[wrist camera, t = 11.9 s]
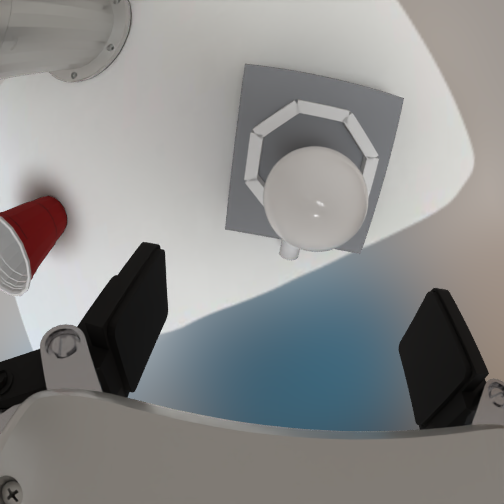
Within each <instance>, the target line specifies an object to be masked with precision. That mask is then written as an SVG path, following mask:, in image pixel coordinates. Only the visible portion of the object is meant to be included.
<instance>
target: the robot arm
mask: <svg viewBox="0 0 504 504" xmlns="http://www.w3.org/2000/svg"><path fill="white" fill-rule="evenodd" d="M130 18H131V11H130V4H129V2H128V0H0V80H1V79H6V78H11V77H17V76H22V75H29V74H35V73H42V72H49V73H50V74H51V75H52V76H54V77H55V78H57V79H59V80H62V81H65V82H77V81H83V80H87V79H89V78H92V77H94V76H96V75H97V74H99V73H100V72H102V71H103V70H104V69H105V68H106V67H107V66H108V65H109V64H110V63H111V62H112V61H113V60H114V59H115V57H116V56H117V55H118V53H119V52H120V50H121V48H122V46H123V45H124V42H125V40H126V37H127V35H128V31H129V27H130ZM113 48H114V49H113ZM167 315H168V299H167V284H166V264H165V251H164V250H162V249H160V245H158V244H153V243H147V242H143V243H141V245H140V246H139V247H138V248H137V250H136V251H135V252H134V254H133V255H132V256H131V258H130V259H129V260H128V262H127V263H126V264H125V266H124V267H123V268H122V270H121V271H120V272H119V274H118V275H115V276H113V277H112V278H111V280H110V281H109V282H108V284H107V285H106V286H105V288H104V289H103V291H102V292H101V293H100V295H99V296H98V297H97V299H96V300H95V302H94V303H93V305H92V306H91V307H90V309H89V310H88V312H87V313H86V315H85V316H84V318H83V319H82V320H81V322H80V323H79V325H78V326H77V327H76V326H73V325H59V326H56V327H54V328H52V329H50V330H49V331H48V332H47V333H46V334H45V335H44V336H43V338H42V340H41V343H40V349H38V350H35V351H32V352H29V353H26V354H23V355H20V356H17V357H14V358H11V359H8V360H5V361H2V362H0V504H504V382H502V381H500V380H498V379H490V380H488V381H487V382H486V381H485V378H486V376H487V375H488V374H489V373H488V370H487V368H486V365H485V363H484V361H483V359H482V356H481V354H480V352H479V350H478V347H477V345H476V343H475V341H474V339H473V337H472V335H471V333H470V331H469V329H468V327H467V325H466V323H465V321H464V319H463V317H462V315H461V313H460V311H459V309H458V307H457V305H456V303H455V301H454V300H453V298H452V296H451V294H450V292H449V291H448V290H445V289H438V288H433V289H432V290H431V291H430V292H428V293H427V294H426V296H425V299H424V301H423V302H422V304H421V306H420V308H419V310H418V311H417V313H416V315H415V317H414V319H413V321H412V322H411V324H410V326H409V328H408V330H407V331H406V333H405V335H404V336H403V338H402V340H401V341H400V344H399V354H400V357H401V361H402V365H403V369H404V372H405V377H406V380H407V385H408V388H409V393H410V398H411V402H412V407H413V411H414V416H415V421H416V423H417V425H419V427H420V430H407V431H377V432H355V431H323V430H308V429H295V428H285V427H275V426H266V425H259V424H251V423H244V422H237V421H231V420H225V419H219V418H214V417H209V416H203V415H199V414H194V413H189V412H184V411H179V410H175V409H170V408H166V407H162V406H158V405H154V404H150V403H146V402H142V401H138V400H134V399H130V398H127V397H128V394H129V392H134V391H135V390H136V388H137V385H138V383H139V381H140V378H141V376H142V373H143V371H144V369H145V366H146V364H147V362H148V359H149V357H150V355H151V352H152V350H153V348H154V346H155V343H156V340H157V339H158V336H159V334H160V332H161V330H162V327H163V325H164V323H165V321H166V318H167Z"/></svg>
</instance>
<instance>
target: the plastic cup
mask: <svg viewBox="0 0 504 504" xmlns="http://www.w3.org/2000/svg"><path fill="white" fill-rule="evenodd" d="M66 225H67V215H66V212H65V209H64V207H63V206H62V204H61V203H60V202H59V201H58V200H57V199H55V198H54V197H51V196H45V197H41V198H38V199H36V200H34V201H31V202H27V203H24V204H22V205H19V206H17V207H14V208H12V209H9V210H7V211H4V212H1V213H0V290H1V291H3V292H5V293H7V294H9V295H11V296H22V295H23V294H24V293H25V292H26V291H28V289H29V286H30V281H31V279H32V278H33V275H34V274H35V272H36V271H37V268H38V267H39V266H40V264H41V263H42V261H43V260H44V258H45V257H46V256H47V254H48V253H49V252H50V250H51V249H52V247H53V246H54V245H55V243H56V241H57V240H58V238H59V237H60V236H61V234H62V233H63V232H64V229H65V228H66Z"/></svg>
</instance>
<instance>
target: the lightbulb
mask: <svg viewBox="0 0 504 504" xmlns="http://www.w3.org/2000/svg"><path fill="white" fill-rule="evenodd" d="M263 204H264V210H265V214H266V217H267V219H268V221H269V223H270V225H271V227H272V228H273V230H274V231H275V232H276V233H277V235H278V236H279V237H280V238H281V239H283V240H284V241H285V242H287V243H288V244H290V245H292V246H294V247H296V248H298V249H301V250H305V251H311V252H322V251H328V250H332V249H335V248H337V247H340V246H342V245H343V244H345V243H346V242H348V241H349V240H350V239H351V238H353V237H354V235H355V234H356V233H357V232H358V231H359V229H360V228H361V226H362V224H363V222H364V220H365V217H366V214H367V210H368V190H367V186H366V182H365V180H364V177H363V175H362V173H361V172H360V170H359V169H358V167H357V166H356V165H355V164H354V163H353V162H352V161H351V160H350V159H349V158H348V157H346V156H345V155H344V154H342V153H340V152H338V151H336V150H334V149H331V148H327V147H322V146H308V147H303V148H299V149H296V150H294V151H292V152H290V153H288V154H286V155H285V156H284V157H282V158H281V159H280V160H279V161H278V162H277V163H276V164H275V165H274V167H273V168H272V170H271V171H270V173H269V175H268V177H267V179H266V182H265V186H264V192H263Z"/></svg>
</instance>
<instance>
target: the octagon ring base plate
mask: <svg viewBox="0 0 504 504" xmlns="http://www.w3.org/2000/svg"><path fill="white" fill-rule="evenodd" d="M403 100H404V98H402V97H399V96H396V95H392V94H389V93H386V92H383V91H379V90H376V89H372V88H369V87H365V86H362V85H358V84H354V83H350V82H346V81H342V80H338V79H333V78H329V77H324V76H319V75H315V74H309V73H304V72H299V71H293V70H287V69H281V68H274V67H267V66H259V65H251V64H245V69H244V76H243V84H242V91H241V98H240V106H239V114H238V121H237V129H236V137H235V146H234V154H233V162H232V171H231V180H230V189H229V198H228V207H227V216H226V226H225V229H226V230H232V231H238V232H243V233H249V234H255V235H260V236H266V237H272V238H277V239H281V238H280V237H279V236H278V235H277V233H276V232H275V231H274V230H273V228H272V227H271V225H270V223H269V221H268V219H267V217H266V214H265V210H264V204H263V192H264V186H265V182H266V179H267V177H268V175H269V173H270V171H271V170H272V168H273V167H274V165H275V164H276V163H277V162H278V161H279V160H280V159H281V158H282V157H284V156H285V155H286V154H288V153H290V152H292V151H294V150H296V149H299V148H303V147H308V146H322V147H327V148H331V149H334V150H336V151H338V152H340V153H342V154H344V155H345V156H346V157H348V158H349V159H350V160H351V161H352V162H353V163H354V164H355V165H356V166H357V167H358V169H359V170H360V172H361V173H362V175H363V177H364V180H365V182H366V186H367V190H368V210H367V214H366V217H365V220H364V222H363V224H362V226H361V228H360V229H359V231H358V232H357V233H356V234H355V235H354V237H353V238H351V239H350V240H349V241H348V242H346V243H345V244H343V245H342V246H340V247H337V248H335V249H337V250H342V251H348V252H353V253H359V254H360V253H361V250H362V248H363V245H364V242H365V239H366V236H367V233H368V230H369V227H370V224H371V220H372V217H373V214H374V211H375V208H376V204H377V201H378V198H379V195H380V191H381V188H382V184H383V181H384V177H385V174H386V170H387V166H388V163H389V159H390V155H391V151H392V147H393V143H394V139H395V135H396V131H397V127H398V122H399V118H400V114H401V109H402V104H403ZM299 251H300V249H298V248H296V247H294V246H292V245H290V244H288V243H287V242H285V241H284V240H283V239H282V242H281V247H280V252H279V254H280V256H281V257H282V258H284V259H287V260H295V259H297V258H298V255H299Z"/></svg>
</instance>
